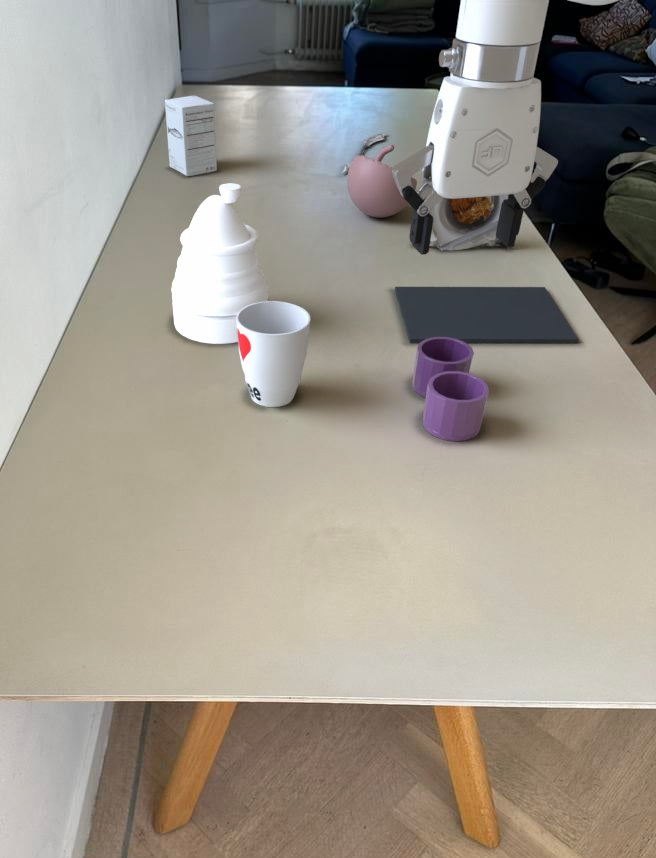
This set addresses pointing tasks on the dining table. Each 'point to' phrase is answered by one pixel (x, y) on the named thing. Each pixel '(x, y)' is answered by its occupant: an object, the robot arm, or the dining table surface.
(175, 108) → the white packaging box
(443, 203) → the meal
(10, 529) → the dining table surface
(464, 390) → the purple faceted cup
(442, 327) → the mat
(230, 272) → the honey pot
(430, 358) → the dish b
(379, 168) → the mortar and pestle
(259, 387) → the cup
